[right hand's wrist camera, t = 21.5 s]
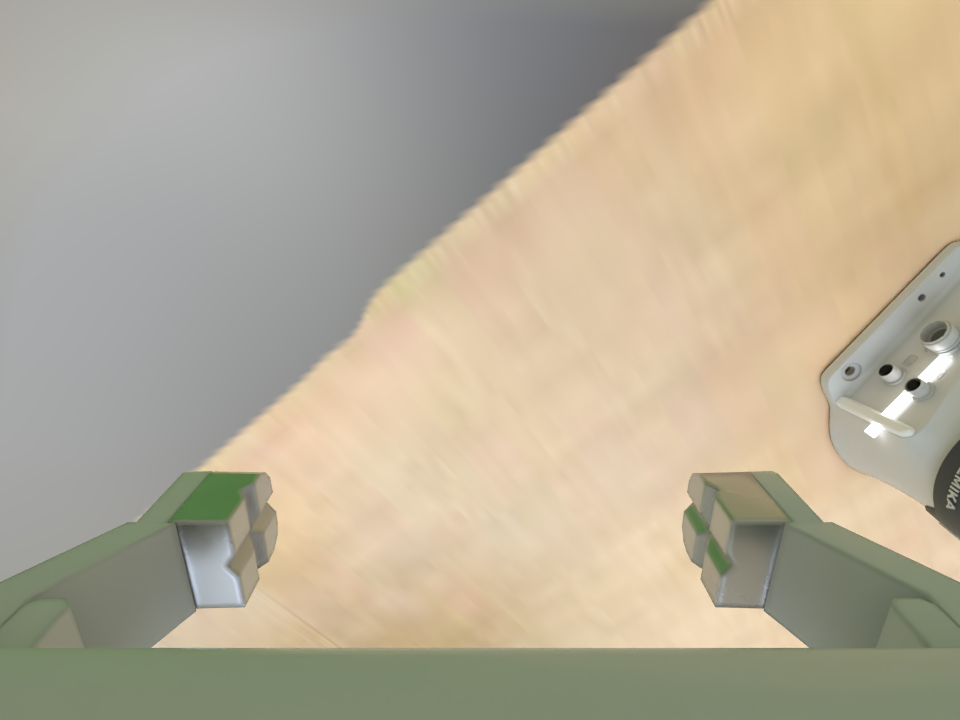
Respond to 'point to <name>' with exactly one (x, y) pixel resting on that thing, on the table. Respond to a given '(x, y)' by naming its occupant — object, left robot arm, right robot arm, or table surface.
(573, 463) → the table surface
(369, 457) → the table surface
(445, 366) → the table surface
